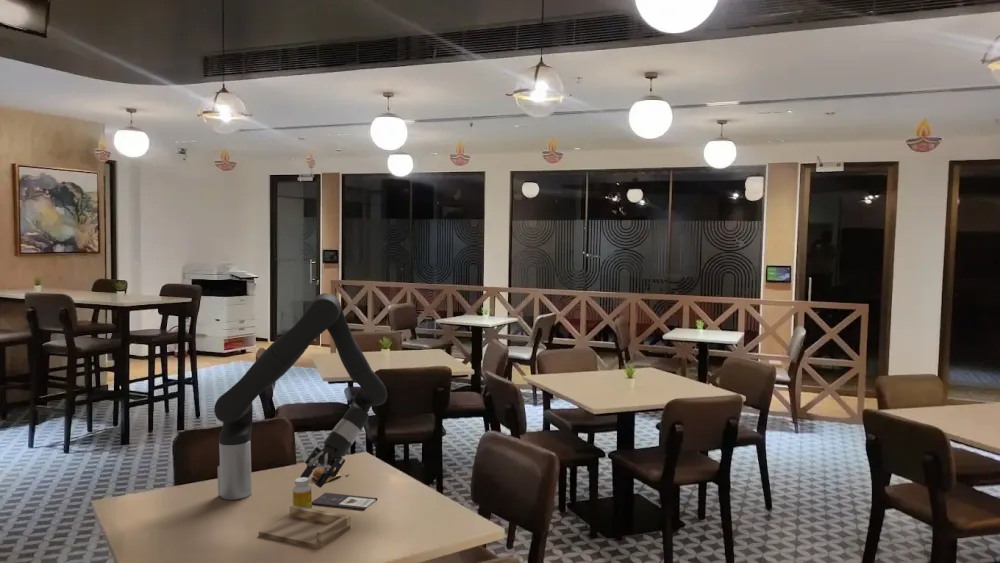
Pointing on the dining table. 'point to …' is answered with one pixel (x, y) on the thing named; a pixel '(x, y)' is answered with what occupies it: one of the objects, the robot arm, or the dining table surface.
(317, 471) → the hamburger
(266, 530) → the wooden tray
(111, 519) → the dining table surface
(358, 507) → the chocolate bar
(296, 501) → the supplement bottle
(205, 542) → the dining table surface
